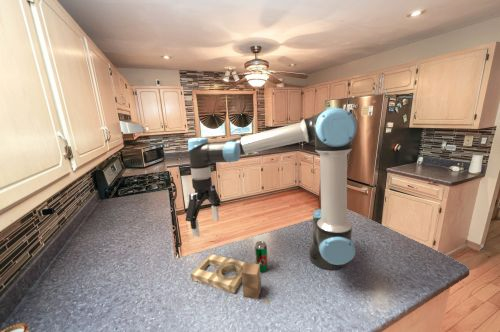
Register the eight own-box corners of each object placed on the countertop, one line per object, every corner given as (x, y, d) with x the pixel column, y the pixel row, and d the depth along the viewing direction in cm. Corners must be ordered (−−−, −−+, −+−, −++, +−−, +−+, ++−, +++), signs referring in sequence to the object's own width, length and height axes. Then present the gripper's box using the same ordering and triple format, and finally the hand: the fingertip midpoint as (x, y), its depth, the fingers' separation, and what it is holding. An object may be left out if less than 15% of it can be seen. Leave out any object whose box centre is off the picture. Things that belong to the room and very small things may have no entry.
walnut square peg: (261, 287, 78) (259, 264, 77) (258, 299, 73) (256, 274, 71) (247, 285, 80) (245, 262, 78) (243, 297, 75) (241, 272, 73)
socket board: (249, 269, 89) (249, 263, 88) (234, 293, 76) (233, 286, 76) (211, 259, 97) (210, 253, 96) (191, 280, 84) (190, 273, 84)
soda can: (270, 268, 89) (269, 243, 86) (262, 274, 85) (261, 248, 83) (261, 263, 92) (260, 239, 90) (253, 269, 88) (252, 244, 86)
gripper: (211, 170, 93) (215, 214, 97) (170, 185, 71) (178, 241, 75) (225, 170, 90) (229, 215, 94) (187, 187, 68) (194, 245, 72)
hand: (206, 227), depth 85 cm, fingers open, 13 cm apart
